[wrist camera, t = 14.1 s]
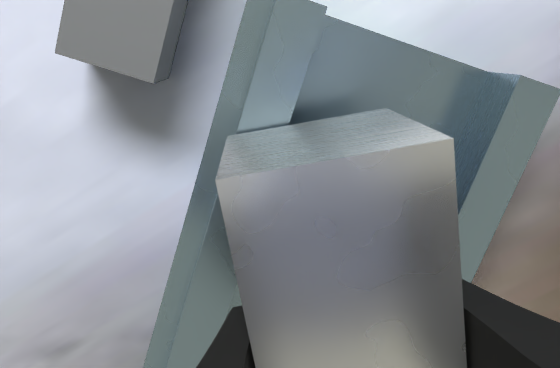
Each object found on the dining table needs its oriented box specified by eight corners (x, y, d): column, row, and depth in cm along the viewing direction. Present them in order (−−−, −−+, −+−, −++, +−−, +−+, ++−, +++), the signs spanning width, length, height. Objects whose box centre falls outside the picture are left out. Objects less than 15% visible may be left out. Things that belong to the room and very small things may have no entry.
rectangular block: (386, 108, 12) (453, 138, 8) (418, 428, 14) (478, 565, 11) (227, 135, 11) (215, 179, 8) (291, 451, 14) (305, 598, 11)
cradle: (529, 89, 14) (585, 98, 12) (369, 443, 18) (387, 504, 15) (250, -9, 13) (250, -21, 11) (136, 392, 17) (117, 450, 14)
